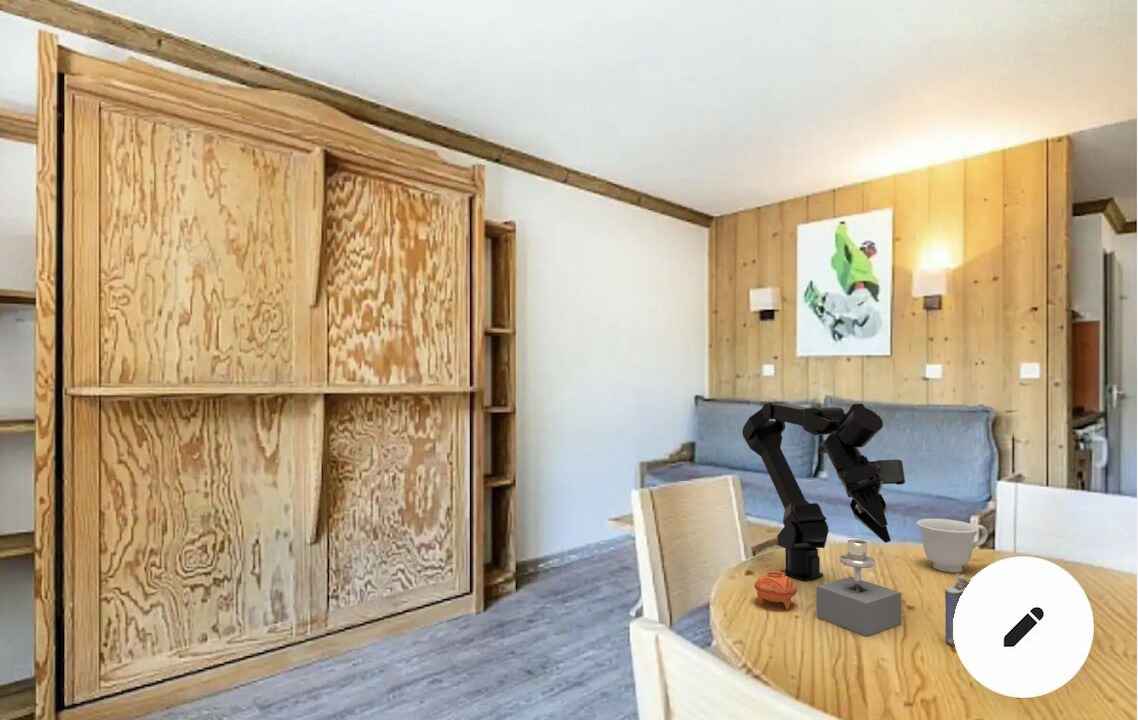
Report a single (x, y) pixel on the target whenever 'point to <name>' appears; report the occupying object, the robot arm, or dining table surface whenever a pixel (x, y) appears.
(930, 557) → the teacup
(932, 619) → the dining table surface
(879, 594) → the box
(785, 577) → the pot
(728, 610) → the dining table surface
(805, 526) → the robot arm
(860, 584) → the plunger
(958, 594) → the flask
